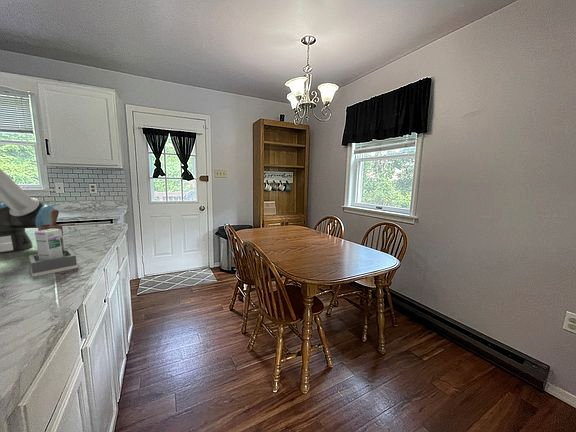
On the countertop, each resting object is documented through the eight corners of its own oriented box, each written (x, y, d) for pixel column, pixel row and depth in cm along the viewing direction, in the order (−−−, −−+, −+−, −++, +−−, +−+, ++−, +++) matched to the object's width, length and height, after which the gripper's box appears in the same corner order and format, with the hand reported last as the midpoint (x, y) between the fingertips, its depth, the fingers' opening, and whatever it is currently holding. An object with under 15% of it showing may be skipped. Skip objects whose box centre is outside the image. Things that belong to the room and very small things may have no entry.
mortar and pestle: (42, 249, 128) (36, 210, 124) (65, 246, 133) (60, 208, 130) (41, 255, 119) (34, 213, 116) (65, 252, 125) (60, 211, 121)
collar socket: (30, 268, 103) (28, 255, 102) (71, 260, 112) (70, 249, 112) (32, 276, 94) (30, 263, 93) (77, 267, 104) (76, 255, 103)
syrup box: (51, 268, 100) (46, 231, 97) (39, 266, 101) (34, 231, 99) (66, 263, 105) (62, 228, 103) (55, 262, 107) (50, 228, 104)
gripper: (-78, 258, 88) (12, 245, 103) (-96, 278, 71) (15, 260, 87) (-83, 237, 87) (9, 227, 102) (-102, 252, 70) (11, 238, 86)
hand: (12, 242), depth 95 cm, fingers open, 13 cm apart
